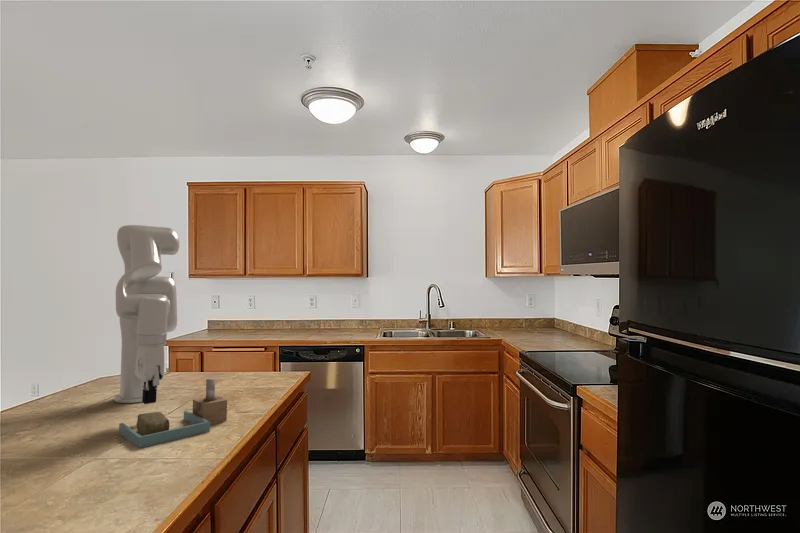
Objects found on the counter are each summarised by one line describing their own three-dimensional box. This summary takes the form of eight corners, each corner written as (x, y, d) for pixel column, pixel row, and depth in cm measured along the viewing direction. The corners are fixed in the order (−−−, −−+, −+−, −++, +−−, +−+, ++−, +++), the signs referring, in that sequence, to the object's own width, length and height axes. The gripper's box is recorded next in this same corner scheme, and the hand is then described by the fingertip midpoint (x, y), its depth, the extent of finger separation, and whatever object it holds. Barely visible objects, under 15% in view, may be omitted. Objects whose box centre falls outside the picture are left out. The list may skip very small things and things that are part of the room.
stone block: (145, 443, 113) (146, 423, 114) (135, 431, 122) (136, 413, 122) (170, 438, 117) (171, 419, 117) (159, 427, 126) (159, 409, 126)
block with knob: (192, 420, 132) (193, 379, 132) (215, 415, 137) (216, 375, 138) (202, 425, 127) (204, 382, 128) (226, 420, 133) (227, 379, 133)
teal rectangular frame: (119, 433, 120) (119, 423, 120) (186, 418, 133) (186, 410, 133) (139, 447, 110) (139, 437, 110) (209, 431, 123) (210, 421, 123)
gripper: (128, 337, 133) (126, 399, 133) (147, 344, 123) (144, 412, 123) (156, 334, 138) (153, 394, 138) (175, 342, 128) (172, 406, 128)
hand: (149, 402), depth 131 cm, fingers closed
